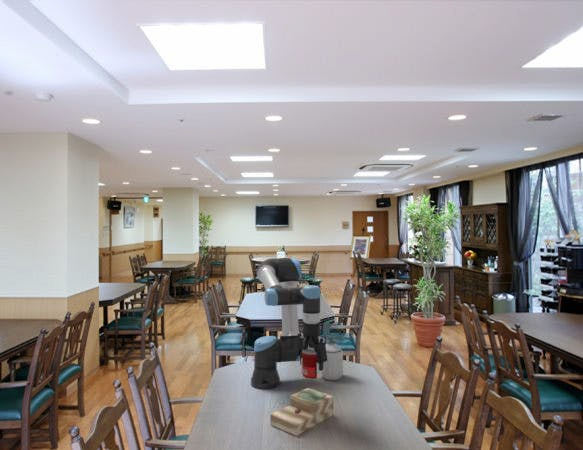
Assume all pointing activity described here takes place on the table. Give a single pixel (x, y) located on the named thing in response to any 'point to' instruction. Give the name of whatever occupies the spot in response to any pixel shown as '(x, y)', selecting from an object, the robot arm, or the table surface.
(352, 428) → the table surface
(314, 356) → the canned food
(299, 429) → the stand
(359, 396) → the table surface
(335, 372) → the soap bottle
